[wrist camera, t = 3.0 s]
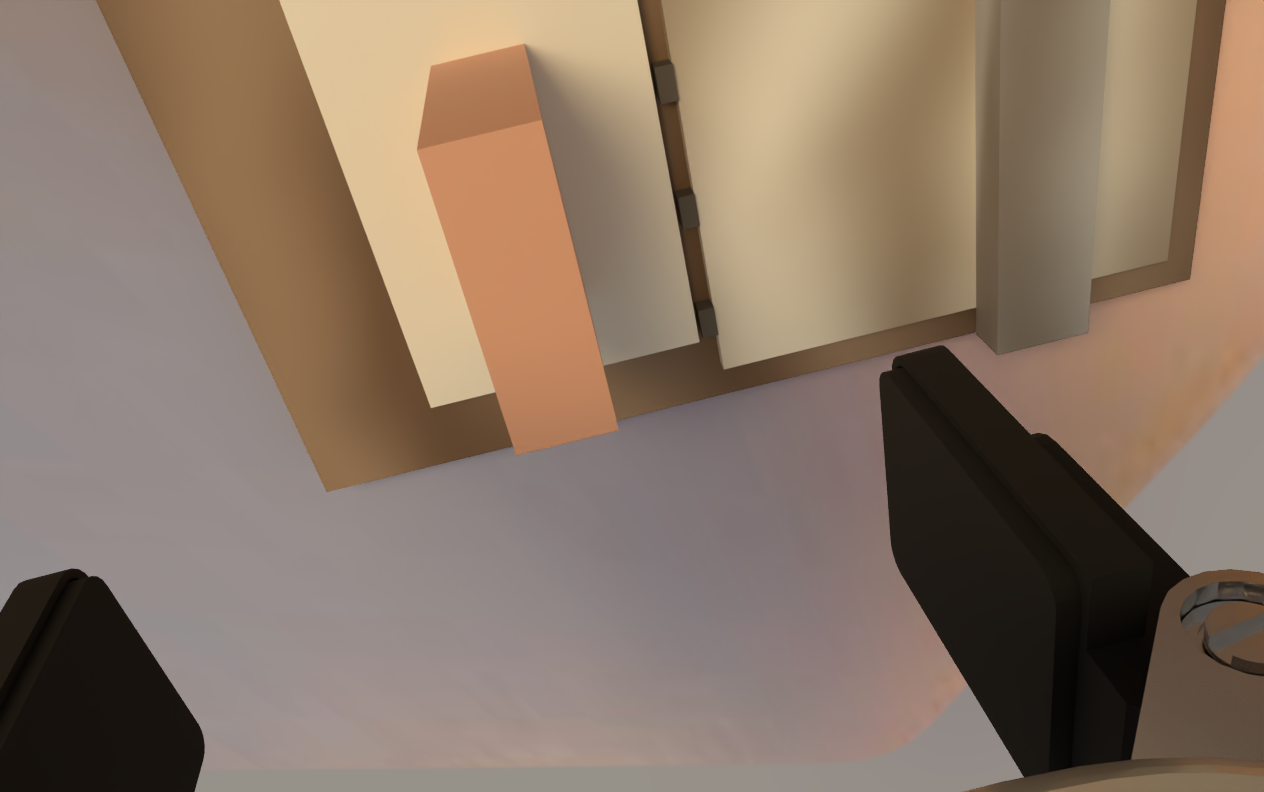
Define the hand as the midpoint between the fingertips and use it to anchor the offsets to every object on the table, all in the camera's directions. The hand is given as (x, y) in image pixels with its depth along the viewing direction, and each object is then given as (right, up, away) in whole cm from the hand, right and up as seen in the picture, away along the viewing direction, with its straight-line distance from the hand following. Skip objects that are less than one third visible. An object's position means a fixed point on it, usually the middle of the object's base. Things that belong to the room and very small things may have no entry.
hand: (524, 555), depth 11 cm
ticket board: (+3, +9, +12) cm, 15 cm away
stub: (-1, +7, +10) cm, 13 cm away
